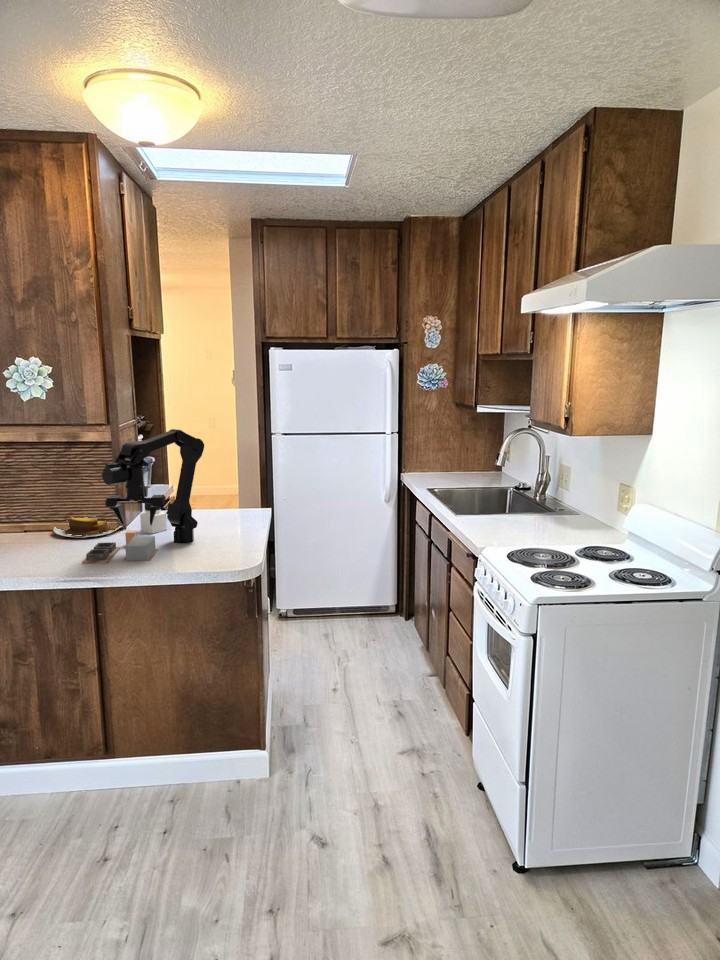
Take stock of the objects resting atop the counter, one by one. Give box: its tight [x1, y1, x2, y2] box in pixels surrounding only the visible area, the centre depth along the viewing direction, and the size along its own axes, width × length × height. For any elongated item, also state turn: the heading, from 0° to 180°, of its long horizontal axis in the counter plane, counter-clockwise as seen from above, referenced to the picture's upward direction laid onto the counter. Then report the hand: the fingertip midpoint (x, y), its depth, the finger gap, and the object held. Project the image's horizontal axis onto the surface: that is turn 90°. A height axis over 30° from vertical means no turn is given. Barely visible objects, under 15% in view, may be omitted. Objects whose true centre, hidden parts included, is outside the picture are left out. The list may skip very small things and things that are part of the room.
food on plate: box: [52, 516, 124, 539], centre depth 246 cm, size 25×25×7 cm
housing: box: [125, 535, 156, 562], centre depth 214 cm, size 7×12×5 cm, turn 6°
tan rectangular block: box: [124, 529, 138, 546], centre depth 225 cm, size 3×3×6 cm
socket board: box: [81, 541, 121, 565], centre depth 213 cm, size 8×16×4 cm, turn 6°
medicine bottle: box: [139, 503, 168, 534], centre depth 247 cm, size 7×7×12 cm
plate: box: [123, 548, 159, 562], centre depth 214 cm, size 9×13×4 cm
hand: (137, 525), depth 213 cm, fingers open, 9 cm apart
